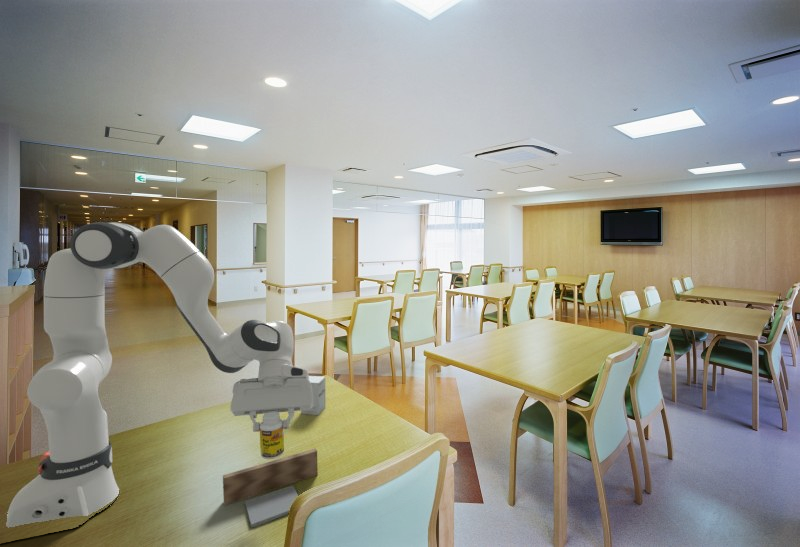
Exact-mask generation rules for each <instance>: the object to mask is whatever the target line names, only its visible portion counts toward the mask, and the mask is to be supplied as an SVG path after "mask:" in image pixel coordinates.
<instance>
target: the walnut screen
mask: <svg viewBox="0 0 800 547" xmlns="http://www.w3.org/2000/svg"><path fill="white" fill-rule="evenodd" d="M318 468H319V467H318V450H317V449H316V448H312V449H308V450H306V451H302V452H299V453H296V454H292V455H289V456H285V457H282V458H278V459H277V458H276V459H273V460H271V461H267V462H264V463H261V464H257V465H254V466H250V467H247V468H244V469H243V468H242V469H240V470H236V471H233V472H230V473H227V474H223V475H222V490H223V505H224V506H227V505H229V504H232V503H235V502H239V501H241V500H244V499H247V498H251V497H254V496H256V495H260V494H263V493H266V492H268V491H273V490H275V489H278V488H281V487H284V486H287V485H291V484H294V483H297V482H299V481H302V480H305V479H309V478H312V477H314V476H318V472H319V471H318Z"/></svg>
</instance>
